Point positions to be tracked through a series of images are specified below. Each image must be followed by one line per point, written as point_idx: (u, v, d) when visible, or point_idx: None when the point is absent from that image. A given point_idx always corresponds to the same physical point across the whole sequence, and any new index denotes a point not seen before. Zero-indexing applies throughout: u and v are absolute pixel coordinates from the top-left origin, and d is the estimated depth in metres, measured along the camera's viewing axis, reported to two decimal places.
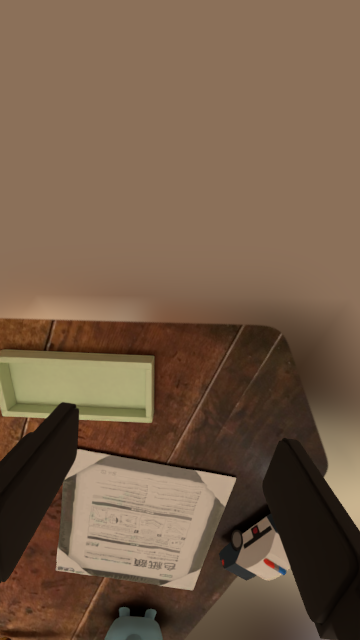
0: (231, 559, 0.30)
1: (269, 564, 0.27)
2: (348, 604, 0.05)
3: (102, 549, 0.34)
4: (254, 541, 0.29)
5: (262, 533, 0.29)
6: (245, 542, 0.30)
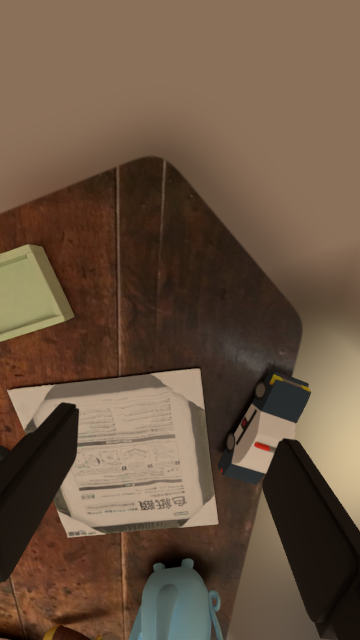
0: (227, 463, 0.25)
1: (261, 447, 0.22)
2: (348, 604, 0.05)
3: (100, 500, 0.31)
4: (244, 433, 0.24)
5: (250, 420, 0.24)
6: (237, 439, 0.25)
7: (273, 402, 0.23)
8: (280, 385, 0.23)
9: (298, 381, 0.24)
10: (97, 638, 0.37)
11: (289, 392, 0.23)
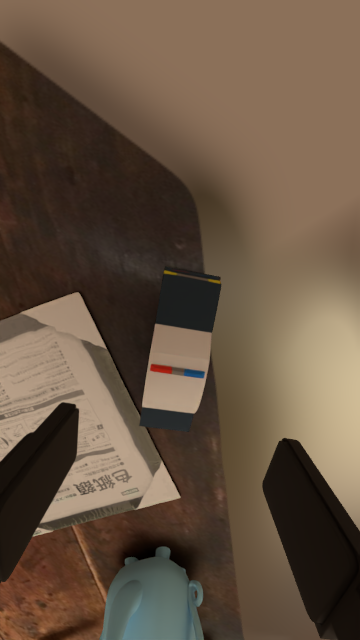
0: None
1: (158, 369, 0.16)
2: (348, 605, 0.05)
3: None
4: None
5: None
6: None
7: (169, 307, 0.16)
8: (172, 281, 0.16)
9: (204, 275, 0.17)
10: None
11: (188, 289, 0.16)
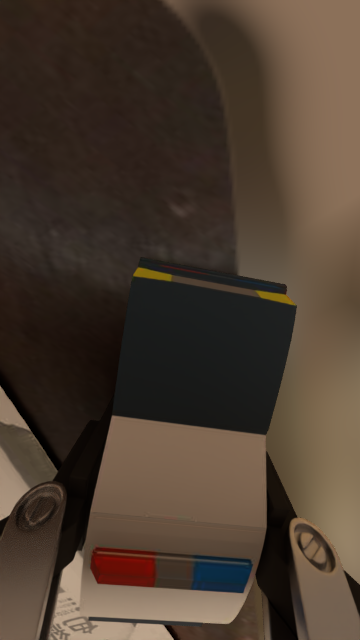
0: None
1: (114, 575, 0.05)
2: None
3: None
4: None
5: None
6: None
7: (149, 372, 0.06)
8: (158, 298, 0.06)
9: (244, 280, 0.06)
10: None
11: (204, 320, 0.06)
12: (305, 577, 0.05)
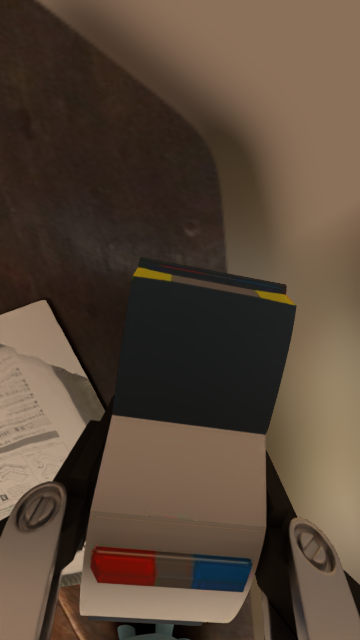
0: None
1: (114, 574, 0.05)
2: None
3: None
4: None
5: None
6: None
7: (149, 372, 0.06)
8: (158, 298, 0.06)
9: (244, 280, 0.06)
10: None
11: (204, 320, 0.06)
12: (305, 577, 0.05)
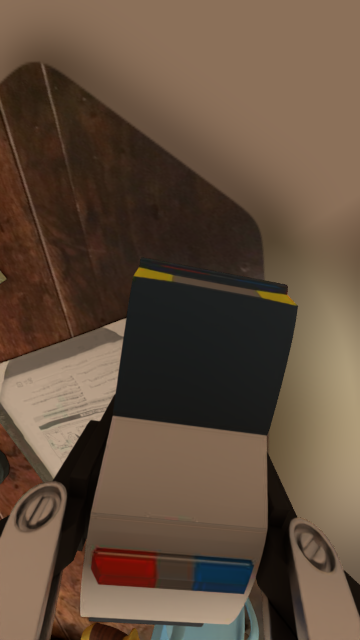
0: None
1: (114, 575, 0.05)
2: None
3: None
4: None
5: None
6: None
7: (150, 372, 0.06)
8: (159, 298, 0.06)
9: (245, 280, 0.06)
10: (132, 632, 0.34)
11: (205, 320, 0.06)
12: (305, 577, 0.05)
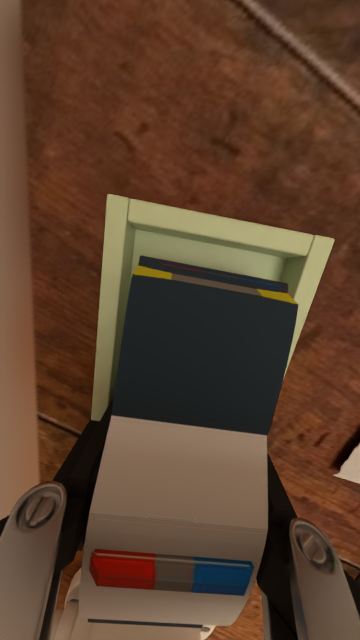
0: None
1: (113, 577, 0.05)
2: None
3: None
4: None
5: None
6: None
7: (149, 372, 0.06)
8: (158, 296, 0.05)
9: (245, 278, 0.06)
10: None
11: (205, 319, 0.06)
12: (305, 577, 0.05)
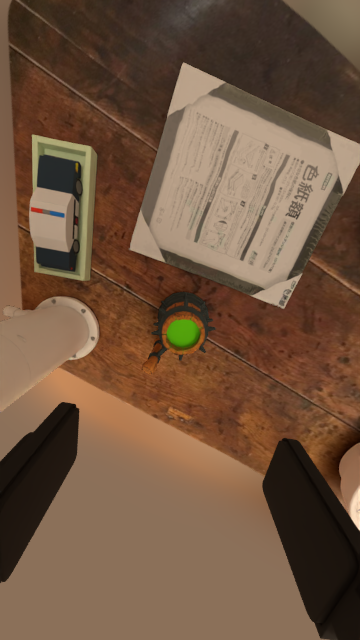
0: None
1: (34, 208, 0.27)
2: (348, 605, 0.05)
3: (262, 249, 0.33)
4: None
5: None
6: None
7: (44, 176, 0.27)
8: (45, 159, 0.27)
9: (68, 159, 0.28)
10: None
11: (55, 164, 0.27)
12: None
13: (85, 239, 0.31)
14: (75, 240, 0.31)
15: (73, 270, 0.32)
